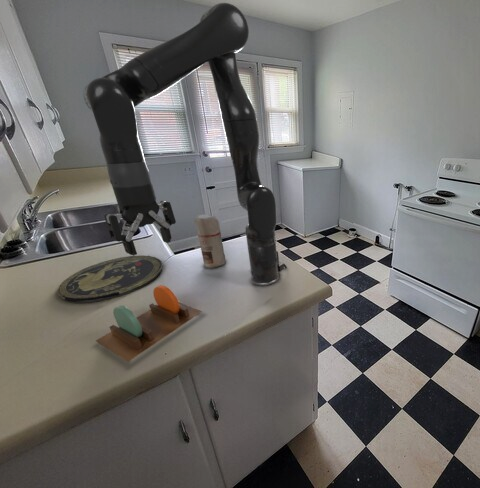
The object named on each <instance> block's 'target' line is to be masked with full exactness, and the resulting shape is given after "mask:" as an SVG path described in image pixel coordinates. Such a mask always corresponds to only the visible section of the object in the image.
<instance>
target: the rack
mask: <svg viewBox="0 0 480 488" xmlns="http://www.w3.org/2000/svg"><path fill="white" fill-rule="evenodd" d="M178 302H179V306H180V310H179V312H178V313H177V314H175V313H173V312H171V311H169V310H166V309H164V308H162V307H160V306H158V305H157V304H155V303H154V302H152V303H150V304H149V310H147V311H145V312H144V313H142V314H140V315H138V316H136V318H137V319H138V321H139V323H140V325H141V328H142V336H141V337H139V338H137V337H135V336H133V335H131V334H129V333H128V332H126V331H124V330H122V329H121V328H120V327H119V326H117V325H116V324H112V325H109V330H110V332H108V333H106V334H104V335H102V336H101V337H98V338H97V339H96V340H95V342H97V343H98V344H99V345H101V346H102V347H104V348H106V349H108V350H109V351H111V352H112V353H114V354H116V355H117V356H118V357H120V358H122V359H123V360H125V361H126V362H130V361H132V360H133V359H135V358H136V357H138V356H139V355H140V354H142V353H144V352H145V351H146V350H148V349H149V348H151V347H153V346H154V345H156V344H157V343H158V342H160V341H161V340H163V339H164V338H166V337H167V336H169V335H170V334H172V333H173V332H175V331H176V330H177V329H179V328H181V327H182V326H183V325H185V324H186V323H188V322H190V320H192V319H194V318H195V317H197V316H198V315H200V314H201V313H202V312H203V311H202V310H200V309H197V308H196V307H193V306H191V305H188V304H185V303H183V302H181V301H179V300H178Z"/></svg>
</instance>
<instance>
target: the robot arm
mask: <svg viewBox="0 0 480 488" xmlns="http://www.w3.org/2000/svg"><path fill="white" fill-rule="evenodd" d="M249 34H250V31H249V25H248V21H247V18H246V17H245V15H244V14H243V12H242V11H241V10H240V9H239V8H238V7H237V6H235V5H234V4H232V3H229V2H220V3H219V2H218V3H217V4H215V5H213V6H212V7H210V8H209V9H207V10H205V12H204V13H203V14H202V15H201V17H200V19H199V22H198V23H197V24H196V25H193V27H191V28H189V29H188V30H185V32H183V33H181V34H178V35H177V36H175V37H173V38H171V39H169V40H167V41H165V42H162V43H160V44H158V45H156V46H154V47H152V48H150V49H148V50H146V51H144V52H142V53H141V54H139V55H136V56H135V57H133V58H132V59H130V60H128V61H127V62H126V63H125V64H123V65H122V66H121V67H119V68H118V69H116V70H114V71H112V72H110V73H108V74H106V75H104V76H101V77H97V78H94V79H92V80H91V81H89V83H87V85H86V86H85V87H84V89H83V94H82V97H83V101H84V104H85V105H86V107H87V109H89V111H90V112H92V114H93V117H94V120H95V123H96V126H97V129H98V132H99V138H98V139H99V144H100V148H101V151H102V154H103V158H104V161H105V165H106V170H107V175H108V178H109V183H110V184H111V188H112V190H113V191H112V192H113V194H114V196H115V200H116V202H117V206H118V207H119V212H118V213H112V214H110V213H106V214H104V221H105V225H106V228H107V231H108V235H109V238H110V240H112V241H115V242H118V243H119V242H122V245H123V248H124V251H125V253H126V254H129V256H138V252H137V248H136V246H135V243H134V240H133V237H134V234H135V233H136V232H137V231H138V228H143V227H145V226H147V225H153V224H154V223H155V224H156V225H157V226H159V227H160V228H159V231H160V235H161V239H162V241H163V243H166V244H167V243H171V241H172V234H171V229H170V227H171V226H172V225H175V224H176V222H177V221H176V218H175V213H174V211H173V208H172V204H171V202H170V201H168V200H167V201H166V200H160V201H159V202H157V198H156V192H155V188H154V185H153V182H152V178H151V174H150V171H149V168H148V166H147V163H146V160H145V156H144V153H143V148H142V145H141V142H140V139H139V134H138V125H137V115H136V110H135V108H136V107H137V106H139V105H140V104H142V103H143V102H145V101H146V100H149V99H152V98H154V97H157V96H158V95H160V94H161V93H163V92H165V91H167V90H168V89H170V88H171V87H173V86H174V85H176V84H177V83H179V82H180V81H181V80H183V79H184V78H186V77H187V76H188V75H190V74H191V73H193V72H194V71H195V70H197V69H198V68H200V67H202V66H203V65H205V64H207V63H208V66H209V69H210V72H211V76H212V80H213V83H214V89H215V93H216V99H217V103H218V106H219V111H220V116H221V121H222V126H223V130H224V134H225V139H226V143H227V146H228V151H229V155H230V158H231V162H232V166H233V170H234V171H233V172H234V176H235V185H236V194H237V200H238V203H239V205H240V206H241V208H242V209H243V210H245V212H247V219H248V220H247V221H248V223H247V224H246V226H245V228H244V229H245V235H246V236H245V237H246V238H245V239H246V243H247V244H246V245H247V246H246V247H247V253H248V260H249V267H250V268H249V272H250V275H251V276H250V277H251V283H252V284H254V285H255V286H261V287H265V286H271V285H273V284H275V283H277V282H278V280H279V278H280V275H281V272H282V271H284V269H288V267H287V265H286V264H285V263H283V262H280V259H279V258H280V256H279V251H278V250H277V241H276V227H277V204H276V203H277V202H276V196H275V194H274V192H273V191H272V190H271V189H270V188H269V187H267V186H264V185H262V182H261V178H260V173H259V169H258V156H259V150H260V130H259V125H258V120H257V115H256V111H255V108H254V105H253V103H252V101H251V99H250V97H249V95H248V93H247V91H246V90H245V88H244V86H243V83H242V81H241V77H240V74H239V69H238V63H237V55H236V53H239V52H240V51H241V50H243V49H244V47H245V46H246V45H247V43H248V41H249V40H248V39H249ZM160 211H162V215H163V217H164V218H163V217H161V216H160V215H159V212H160ZM121 219H122V220H124V223H123V224H122V228H121V227H120V223H121ZM120 228H121V229H122V230H121V229H120Z"/></svg>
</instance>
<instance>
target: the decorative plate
mask: <svg viewBox="0 0 480 488" xmlns="http://www.w3.org/2000/svg"><path fill="white" fill-rule="evenodd" d="M163 269H164V264H163V262H162V261H161V260H160V259H159V258H157V257H156V256H151V255H134V256H133V255H129V256H122V257H118V258H112V259H109V260H105V261H100V262H98V263H96V264H92V265H90V266H88V267H85V268H82V269H80V270H79V271H76V272H74V273H73V274H71V275H70V276H68V277H67V278H65V279H64V280H63V281H62V282H61V284H60V285H59V286H58V289H57V292H58V297H59V298H60V299H61V300H62V301H65V302H67V303H75V304H79V303H80V304H83V303H93V302H94V303H95V302H101V301H106V300H111V299H113V298H117V297H121V296H123V295H126V294H130V293H133V292H134V291H137V290H139V289H141V288H143V287H145V286H147V285H148V284H150V283H152V282H153V281H154V280H155V279H156V278H158V276H160V275H161V273H162V272H163Z"/></svg>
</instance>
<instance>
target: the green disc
mask: <svg viewBox="0 0 480 488" xmlns="http://www.w3.org/2000/svg"><path fill="white" fill-rule="evenodd" d="M112 313H113V318H114V320H115V322H116V324H117V325H118V327H120V328H121V329H122V330H124V331H126V332H128V333H129V334H131V335H133V336H135V337H137V338H139V337H141V336H142V328H141V325H140V323H139V321H138V319H137V315H135V314H134V313H133V312H132V310H130V309H129V308H128V307H127V306H126V305H123V304H122V305H121V304H120V305H118V306H116V307H115V308H114V309H113V312H112Z"/></svg>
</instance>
